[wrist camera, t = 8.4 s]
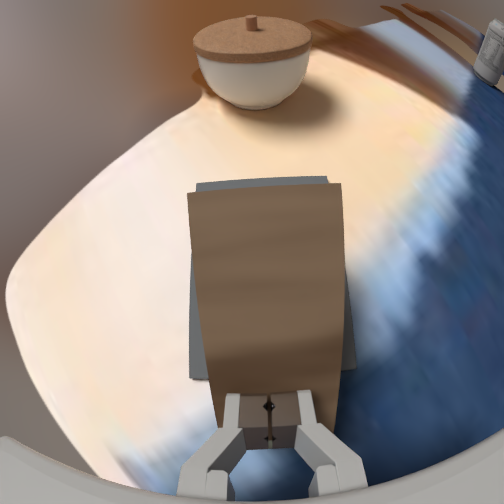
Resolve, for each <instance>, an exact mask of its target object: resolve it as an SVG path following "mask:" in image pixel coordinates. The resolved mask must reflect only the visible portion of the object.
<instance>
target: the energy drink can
mask: <svg viewBox="0 0 504 504" xmlns="http://www.w3.org/2000/svg"><path fill="white" fill-rule="evenodd" d="M473 68H474V70H475V71H474V73H475V74H476V75H477V76H478V77H479V78H480V79H481V80H482V81H484V82H485V83H487V84H488V85H490V86H493V85H496V84H497V83H498V81H499V79H500V77H501V75H502V73H503V70H504V24H503V23H501V22H500V21H498V20H497V19H495V20H494V21H492V22H490V24H489V27H488V30H487V33H486V36H485V38H484V41H483V44H482V47H481V49H480V52H479V54H478V57H477V59H476V62H475V64H474V66H473Z"/></svg>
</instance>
